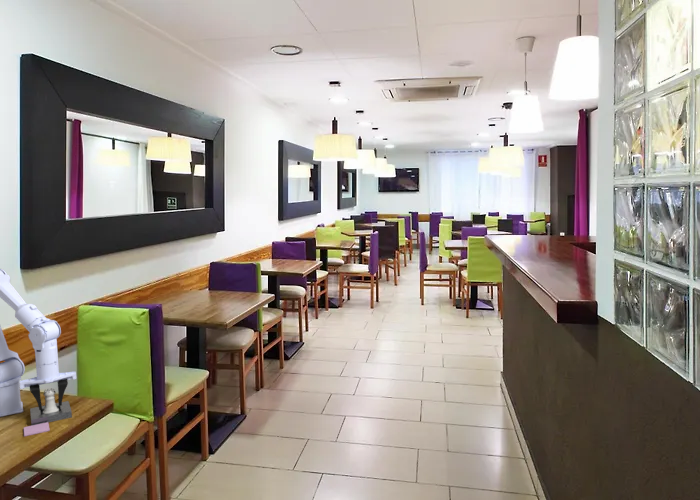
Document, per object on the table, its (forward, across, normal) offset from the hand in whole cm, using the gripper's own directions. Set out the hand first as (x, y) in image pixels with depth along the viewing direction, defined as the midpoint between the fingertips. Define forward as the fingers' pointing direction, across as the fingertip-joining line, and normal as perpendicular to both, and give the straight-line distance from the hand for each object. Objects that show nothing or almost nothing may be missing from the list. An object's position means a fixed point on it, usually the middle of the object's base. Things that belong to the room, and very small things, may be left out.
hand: (50, 406), depth 153 cm
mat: (+3, -4, -9) cm, 10 cm away
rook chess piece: (+3, 0, 0) cm, 3 cm away
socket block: (+3, 0, 0) cm, 3 cm away
